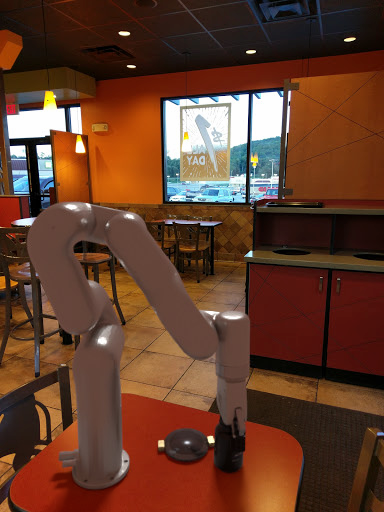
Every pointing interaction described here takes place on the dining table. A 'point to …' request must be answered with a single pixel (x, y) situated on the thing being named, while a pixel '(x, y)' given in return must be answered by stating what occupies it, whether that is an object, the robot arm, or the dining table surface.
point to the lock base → (186, 444)
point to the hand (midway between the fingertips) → (232, 436)
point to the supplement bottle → (226, 449)
